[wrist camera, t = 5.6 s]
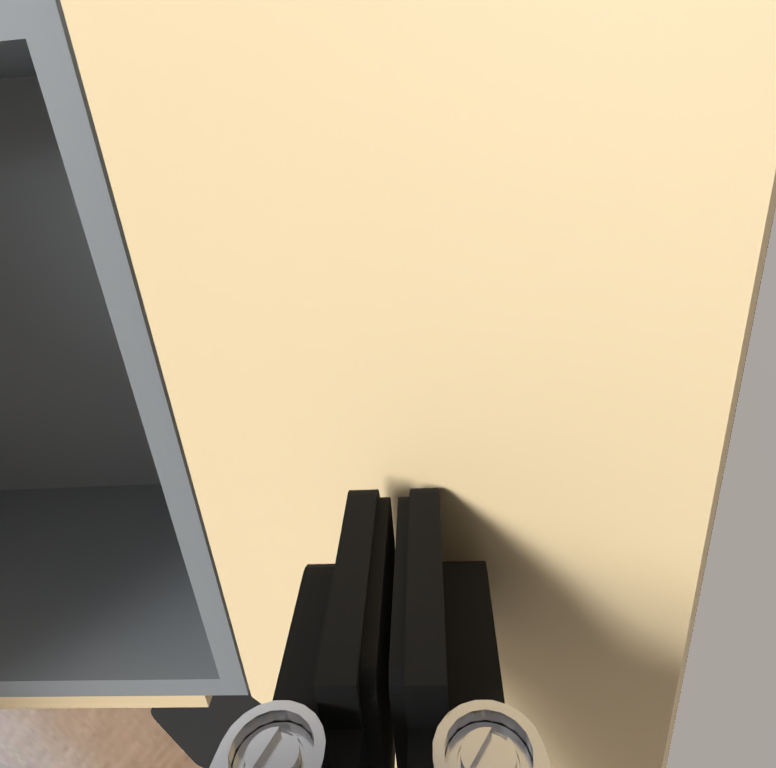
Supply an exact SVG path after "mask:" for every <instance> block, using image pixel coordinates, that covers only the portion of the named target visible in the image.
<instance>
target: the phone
mask: <svg viewBox="0 0 776 768" xmlns="http://www.w3.org/2000/svg"><path fill="white" fill-rule="evenodd" d="M260 704H261V703H260V702H258V701H257V700H255V699H254V698H253V697H252V696H251V693H250V691H249V695H213V696H212V699H211V702H210V705H209V707H170V708H152V709H151V713H152V716H153V717H154V719H155V720H156V721H157V722H158V723H159V724H160V726H161V727H162V728H163V729H164V730H165V731H166V732H167V733H168V734H169V735H170V736H171V737H172V739H173V740H174V741H175V742H176V743H177V744H178V745H179V746H180V747H181V748H182V749H183V750H184V751H185V753H186V754H187V755H188V756H189V757H190V758H191V759H192V760H193V761H194V762H195V763H196V764H198V765H199V766H201V767H203V768H209V767H210V765H211V763H212V761H213V758H214V756H215V754H216V752H217V750H218V747H219V745H220V743H221V741H222V739H223V738H224V736H225V735H226V733H227V731H228V730H229V728H230V726H231V725H232V724H234V723H235V722H236V721H237V720H238V719H239V718H240V717H241V716H242V715H243V714H244V713H246V712H247V711H249V710H251V709H253V708H254V707H256V706H258V705H260Z"/></svg>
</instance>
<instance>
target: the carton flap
mask: <svg viewBox="0 0 776 768" xmlns="http://www.w3.org/2000/svg"><path fill="white" fill-rule="evenodd" d="M60 1H61V5H62V9H63V12H64V16H65V20H66V23H67V27H68V31H69V34H70V38H71V41H72V45H73V49H74V52H75V56H76V60H77V63H78V67H79V71H80V74H81V78H82V81H83V85H84V89H85V92H86V96H87V100H88V103H89V107H90V111H91V114H92V118H93V121H94V125H95V129H96V132H97V136H98V140H99V143H100V147H101V151H102V154H103V158H104V162H105V165H106V169H107V172H108V176H109V180H110V183H111V187H112V191H113V194H114V198H115V202H116V205H117V209H118V212H119V216H120V220H121V223H122V227H123V231H124V234H125V238H126V242H127V245H128V249H129V252H130V256H131V260H132V263H133V267H134V271H135V274H136V278H137V282H138V285H139V289H140V293H141V296H142V300H143V303H144V307H145V311H146V314H147V318H148V322H149V325H150V329H151V333H152V336H153V340H154V343H155V347H156V351H157V354H158V358H159V362H160V365H161V369H162V373H163V376H164V380H165V383H166V387H167V391H168V394H169V398H170V402H171V405H172V409H173V413H174V416H175V420H176V424H177V427H178V431H179V434H180V438H181V442H182V445H183V449H184V453H185V456H186V460H187V464H188V467H189V471H190V474H191V478H192V482H193V485H194V489H195V493H196V496H197V500H198V504H199V507H200V511H201V514H202V518H203V522H204V525H205V529H206V533H207V536H208V540H209V544H210V547H211V551H212V555H213V558H214V562H215V565H216V569H217V573H218V576H219V580H220V584H221V587H222V591H223V595H224V598H225V602H226V605H227V609H228V613H229V616H230V620H231V624H232V627H233V631H234V635H235V638H236V642H237V645H238V649H239V653H240V656H241V660H242V664H243V667H244V671H245V675H246V678H247V682H248V685H249V689H250V693H251V696H252V697H253V698H254V699H255V700H257V701H258V702H260V703H261V704H264V703H267V702H271V701H272V700H273V696H274V692H275V688H276V683H277V679H278V675H279V671H280V667H281V663H282V659H283V654H284V650H285V646H286V642H287V638H288V634H289V630H290V625H291V621H292V617H293V613H294V609H295V605H296V600H297V596H298V592H299V588H300V584H301V580H302V576H303V572H304V569H305V567H306V565H307V564H335V561H336V556H337V550H338V545H339V539H340V534H341V528H342V522H343V517H344V511H345V506H346V500H347V495H348V491H349V490H373V489H378V490H379V493H380V497H390V499H391V507H392V518H393V529H394V540H395V544H396V527H397V509H398V497H409V492H410V488H439V496H440V519H441V541H442V562H446V561H486V566H487V572H488V580H489V587H490V595H491V602H492V610H493V617H494V625H495V632H496V640H497V647H498V655H499V662H500V670H501V677H502V685H503V692H504V700H505V704H508V705H510V706H511V707H513V708H515V709H516V710H518V711H519V712H521V713H523V714H524V715H525V716H526V717H527V718H528V719H529V721H530V722H531V723H532V724H533V725H534V726H535V727H536V729H537V731H538V733H539V735H540V737H541V739H542V741H543V743H544V746H545V749H546V752H547V755H548V758H549V761H550V764H551V767H552V768H666V765H667V759H668V754H669V749H670V744H671V739H672V734H673V729H674V724H675V718H676V713H677V708H678V703H679V698H680V693H681V688H682V682H683V678H684V672H685V667H686V662H687V657H688V652H689V647H690V642H691V637H692V632H693V626H694V621H695V616H696V611H697V606H698V601H699V596H700V591H701V585H702V580H703V575H704V570H705V565H706V560H707V554H708V549H709V545H710V539H711V534H712V529H713V524H714V519H715V514H716V508H717V504H718V498H719V493H720V488H721V483H722V478H723V473H724V468H725V462H726V458H727V452H728V447H729V442H730V437H731V432H732V427H733V422H734V416H735V412H736V406H737V401H738V396H739V391H740V386H741V381H742V376H743V371H744V365H745V360H746V355H747V350H748V345H749V340H750V334H751V329H752V324H753V319H754V314H755V309H756V304H757V299H758V294H759V289H760V283H761V278H762V273H763V268H764V262H765V257H766V253H767V248H768V243H769V238H770V232H771V227H772V222H773V217H774V212H775V207H776V0H60ZM395 768H397V762H396V753H395Z"/></svg>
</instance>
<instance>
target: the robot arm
mask: <svg viewBox="0 0 776 768" xmlns="http://www.w3.org/2000/svg"><path fill="white" fill-rule="evenodd" d="M395 753H396V762H397V768H552V767H551V764H550V761H549V758H548V755H547V752H546V749H545V746H544V743H543V741H542V739H541V737H540V735H539V733H538V731H537V729H536V727H535V726H534V725H533V724H532V723H531V722H530V721H529V719H528V718H527V717H526V716H525V715H524V714H523V713H521V712H519V711H518V710H516V709H515V708H513V707H511V706H510V705H508V704H505V700H504V692H503V685H502V677H501V670H500V662H499V655H498V647H497V640H496V632H495V625H494V617H493V610H492V602H491V595H490V587H489V580H488V572H487V566H486V561H446V562H442V541H441V519H440V496H439V488H410V492H409V497H398V509H397V527H396V544H395V540H394V529H393V518H392V507H391V499H390V497H380V493H379V490H378V489H373V490H349V491H348V495H347V500H346V506H345V511H344V517H343V522H342V528H341V534H340V539H339V545H338V550H337V556H336V561H335V564H307V565H306V567H305V569H304V572H303V576H302V580H301V584H300V588H299V592H298V596H297V600H296V605H295V609H294V613H293V617H292V621H291V625H290V630H289V634H288V638H287V642H286V646H285V650H284V654H283V659H282V663H281V667H280V671H279V675H278V679H277V683H276V688H275V692H274V696H273V700H272V701H271V702H267V703H264V704H260V705H258V706H256V707H254V708H253V709H251V710H249V711H247V712H246V713H244V714H243V715H242V716H241V717H240V718H239V719H238V720H237V721H236V722H235V723H234V724H232V725H231V726H230V728H229V730H228V731H227V733H226V735H225V736H224V738H223V739H222V741H221V743H220V745H219V747H218V750H217V752H216V754H215V756H214V758H213V761H212V763H211V765H210V767H209V768H395Z"/></svg>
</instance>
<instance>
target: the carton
mask: <svg viewBox="0 0 776 768" xmlns="http://www.w3.org/2000/svg"><path fill="white" fill-rule="evenodd" d="M249 691H250V689H249V685H248V682H247V678H246V675H245V671H244V667H243V664H242V660H241V656H240V653H239V649H238V645H237V642H236V638H235V635H234V631H233V627H232V624H231V620H230V616H229V613H228V609H227V605H226V602H225V598H224V595H223V591H222V587H221V584H220V580H219V576H218V573H217V569H216V565H215V562H214V558H213V555H212V551H211V547H210V544H209V540H208V536H207V533H206V529H205V525H204V522H203V518H202V514H201V511H200V507H199V504H198V500H197V496H196V493H195V489H194V485H193V482H192V478H191V474H190V471H189V467H188V464H187V460H186V456H185V453H184V449H183V445H182V442H181V438H180V434H179V431H178V427H177V424H176V420H175V416H174V413H173V409H172V405H171V402H170V398H169V394H168V391H167V387H166V383H165V380H164V376H163V373H162V369H161V365H160V362H159V358H158V354H157V351H156V347H155V343H154V340H153V336H152V333H151V329H150V325H149V322H148V318H147V314H146V311H145V307H144V303H143V300H142V296H141V293H140V289H139V285H138V282H137V278H136V274H135V271H134V267H133V263H132V260H131V256H130V252H129V249H128V245H127V242H126V238H125V234H124V231H123V227H122V223H121V220H120V216H119V212H118V209H117V205H116V202H115V198H114V194H113V191H112V187H111V183H110V180H109V176H108V172H107V169H106V165H105V162H104V158H103V154H102V151H101V147H100V143H99V140H98V136H97V132H96V129H95V125H94V121H93V118H92V114H91V111H90V107H89V103H88V100H87V96H86V92H85V89H84V85H83V81H82V78H81V74H80V71H79V67H78V63H77V60H76V56H75V52H74V49H73V45H72V41H71V38H70V34H69V31H68V27H67V23H66V20H65V16H64V12H63V9H62V5H61V1H60V0H0V709H6V708H170V707H209V705H210V702H211V699H212V696H213V695H249Z"/></svg>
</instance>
